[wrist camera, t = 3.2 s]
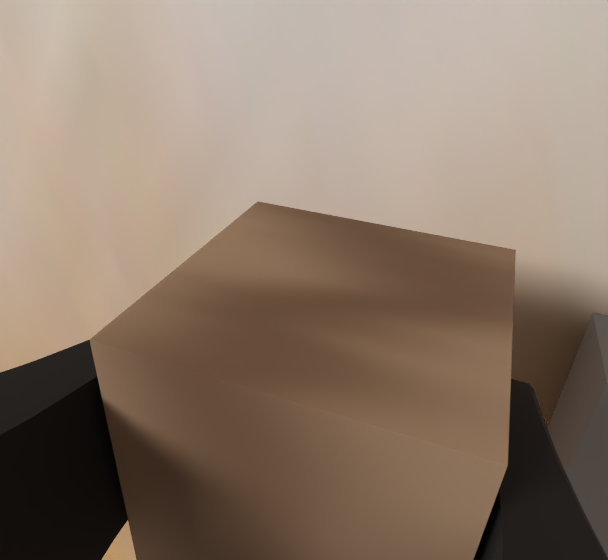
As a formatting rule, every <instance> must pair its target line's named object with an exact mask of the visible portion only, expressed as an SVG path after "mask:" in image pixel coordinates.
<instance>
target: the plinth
mask: <svg viewBox="0 0 608 560" xmlns="http://www.w3.org/2000/svg"><path fill="white" fill-rule="evenodd" d="M547 429H548V432H549V434H550V437H551V439H552V442H553V444H554V447H555V449H556V452H557V454H558V456H559V459H560V461H561V463H562V466H563V468H564V470H565V472H566V474H567V476H568V479H569V481H570V483H571V485H572V487H573V489H574V492H575V494H576V496H577V498H578V500H579V502H580V504H581V507H582V509H583V511H584V513H585V515H586V517H587V519H588V521H589V523H590V525H591V527H592V529H593V531H594V532H595V534H596V536H597V538H598V540H599V542H600V544H601V546H602V547H603V549H604V551H605V553H606V555H607V557H608V316H606V315H602V314H597V313H593V314H592V317H591V319H590V322H589V324H588V327H587V329H586V332H585V334H584V337H583V339H582V342H581V344H580V347H579V349H578V352H577V354H576V357H575V359H574V362H573V364H572V367H571V369H570V372H569V374H568V377H567V379H566V382H565V384H564V387H563V389H562V392H561V394H560V397H559V399H558V402H557V404H556V407H555V409H554V412H553V414H552V417H551V419H550V422H549V424H548V427H547Z"/></svg>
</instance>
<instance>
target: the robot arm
mask: <svg viewBox="0 0 608 560" xmlns="http://www.w3.org/2000/svg"><path fill="white" fill-rule="evenodd" d="M127 520H128V517H127V512H126V507H125V503H124V498H123V494H122V489H121V484H120V480H119V475H118V470H117V466H116V461H115V456H114V452H113V447H112V442H111V438H110V433H109V428H108V424H107V419H106V415H105V410H104V405H103V401H102V396H101V391H100V387H99V382H98V377H97V373H96V368H95V363H94V359H93V354H92V349H91V345H90V340H88V341H85V342H82V343H80V344H77V345H75V346H72V347H70V348H67V349H64V350H62V351H59V352H57V353H54V354H52V355H49V356H46V357H44V358H41V359H39V360H36V361H33V362H30V363H28V364H25V365H22V366H19V367H16V368H13V369H10V370H7V371H4V372H1V373H0V560H101V559H102V558H103V556H104V554H105V553H106V551H107V550H108V548H109V547H110V545H111V543H112V542H113V540H114V539H115V537H116V536H117V534H118V533H119V531H120V530H121V529H122V527H123V526H124V524H125V523H126V522H127ZM473 560H608V557H607V555H606V553H605V551H604V549H603V547H602V546H601V544H600V542H599V540H598V538H597V536H596V534H595V532H594V531H593V529H592V527H591V525H590V523H589V521H588V519H587V517H586V515H585V513H584V511H583V509H582V507H581V504H580V502H579V500H578V498H577V496H576V494H575V492H574V489H573V487H572V485H571V483H570V481H569V479H568V476H567V474H566V472H565V470H564V468H563V466H562V463H561V461H560V459H559V456H558V454H557V452H556V449H555V447H554V444H553V442H552V439H551V437H550V434H549V432H548V429H547V426H546V424H545V421H544V419H543V416H542V413H541V410H540V407H539V404H538V401H537V398H536V395H535V392H534V390H533V388H532V387H531V385H530V384H528V383H524V382H520V381H517V380H513V379H511V390H510V418H509V446H508V466H507V469H506V472H505V474H504V477H503V480H502V483H501V485H500V488H499V491H498V494H497V496H496V499H495V502H494V504H493V507H492V510H491V513H490V515H489V518H488V521H487V524H486V526H485V529H484V532H483V534H482V537H481V540H480V543H479V545H478V548H477V551H476V554H475V556H474V559H473Z"/></svg>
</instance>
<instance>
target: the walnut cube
mask: <svg viewBox="0 0 608 560" xmlns="http://www.w3.org/2000/svg"><path fill="white" fill-rule="evenodd" d="M515 252H516V250H512V249H507V248H502V247H496V246H491V245H486V244H480V243H475V242H470V241H464V240H459V239H454V238H449V237H443V236H438V235H433V234H427V233H422V232H417V231H411V230H406V229H401V228H395V227H390V226H385V225H379V224H374V223H369V222H363V221H358V220H353V219H347V218H342V217H337V216H332V215H326V214H321V213H316V212H310V211H305V210H300V209H294V208H289V207H284V206H278V205H273V204H268V203H262V202H257V203H256V204H254V205H253V206H252V207H251V208H250V209H248V210H247V211H246V212H245V213H243V214H242V215H241V216H240V217H239V218H237V219H236V220H235V221H234V222H232V223H231V224H230V225H229V226H228V227H226V228H225V229H224V230H223V231H221V232H220V233H219V234H218V235H217V236H215V237H214V238H213V239H212V240H211V241H209V242H208V243H207V244H206V245H204V246H203V247H202V248H201V249H200V250H198V251H197V252H196V253H195V254H193V255H192V256H191V257H190V258H189V259H187V260H186V261H185V262H184V263H182V264H181V265H180V266H179V267H178V268H176V269H175V270H174V271H173V272H172V273H170V274H169V275H168V276H167V277H165V278H164V279H163V280H162V281H161V282H159V283H158V284H157V285H156V286H154V287H153V288H152V289H151V290H150V291H148V292H147V293H146V294H145V295H143V296H142V297H141V298H140V299H139V300H137V301H136V302H135V303H134V304H133V305H131V306H130V307H129V308H128V309H126V310H125V311H124V312H123V313H122V314H120V315H119V316H118V317H117V318H115V319H114V320H113V321H112V322H111V323H109V324H108V325H107V326H106V327H104V328H103V329H102V330H101V331H100V332H98V333H97V334H96V335H95V336H94V337H92V338H91V339H90V345H91V349H92V354H93V359H94V363H95V368H96V373H97V377H98V382H99V387H100V391H101V396H102V401H103V405H104V410H105V415H106V419H107V424H108V428H109V433H110V438H111V442H112V447H113V452H114V456H115V461H116V466H117V470H118V475H119V480H120V484H121V489H122V494H123V498H124V503H125V507H126V512H127V517H128V521H129V526H130V531H131V535H132V540H133V545H134V549H135V554H136V559H137V560H473V559H474V556H475V554H476V551H477V548H478V545H479V543H480V540H481V537H482V534H483V532H484V529H485V526H486V524H487V521H488V518H489V515H490V513H491V510H492V507H493V504H494V502H495V499H496V496H497V494H498V491H499V488H500V485H501V483H502V480H503V477H504V474H505V472H506V469H507V466H508V446H509V418H510V390H511V363H512V335H513V307H514V280H515Z"/></svg>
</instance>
